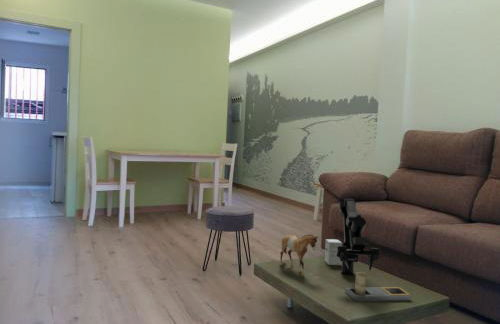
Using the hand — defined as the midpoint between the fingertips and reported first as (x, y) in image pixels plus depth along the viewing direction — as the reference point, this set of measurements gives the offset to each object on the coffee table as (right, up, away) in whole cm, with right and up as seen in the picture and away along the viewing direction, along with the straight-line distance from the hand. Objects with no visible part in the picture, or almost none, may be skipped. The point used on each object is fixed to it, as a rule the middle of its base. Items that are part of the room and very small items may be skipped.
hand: (359, 269), depth 176 cm
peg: (-1, -11, -3) cm, 11 cm away
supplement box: (-2, -9, +47) cm, 48 cm away
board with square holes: (+7, -11, -2) cm, 13 cm away
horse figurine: (-23, -9, +33) cm, 41 cm away
